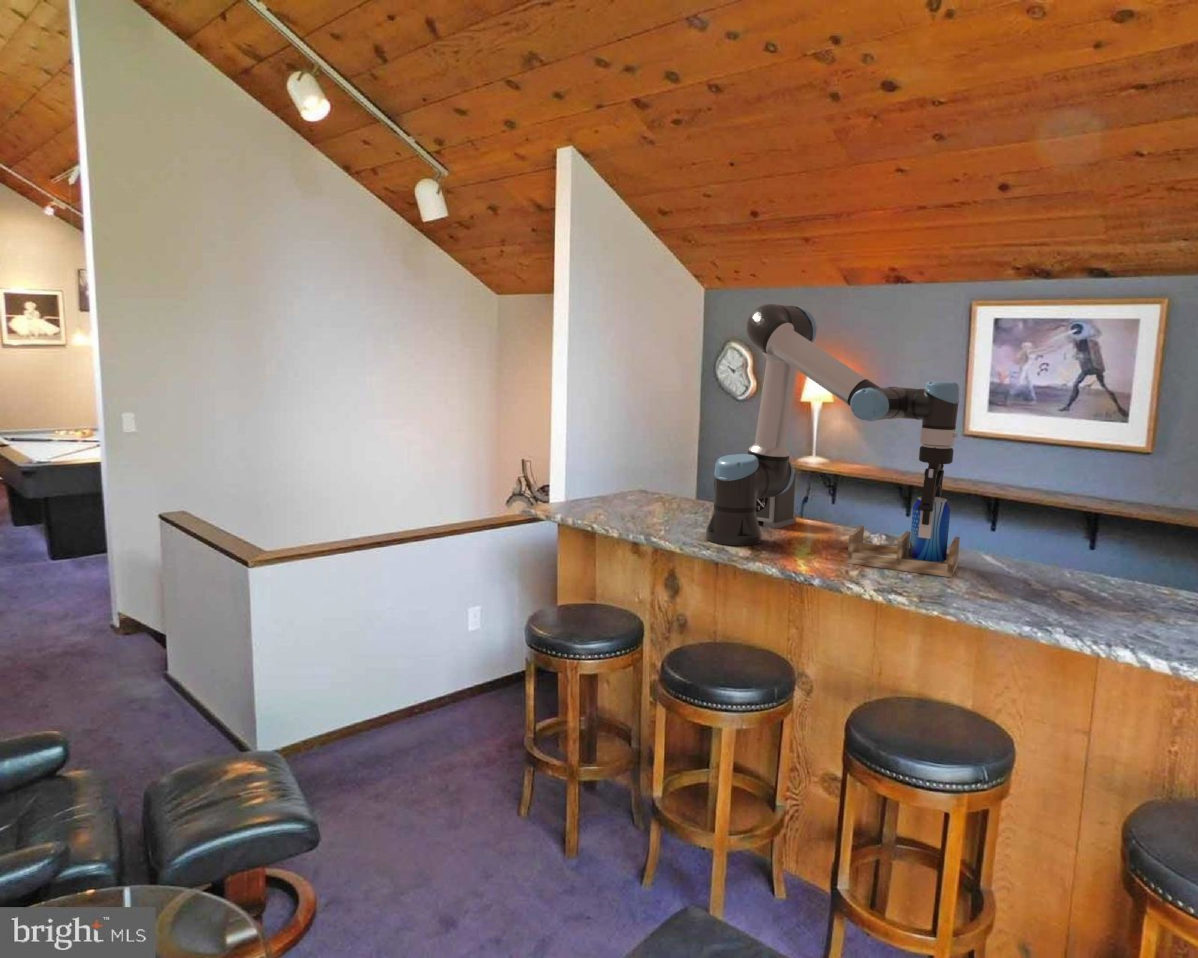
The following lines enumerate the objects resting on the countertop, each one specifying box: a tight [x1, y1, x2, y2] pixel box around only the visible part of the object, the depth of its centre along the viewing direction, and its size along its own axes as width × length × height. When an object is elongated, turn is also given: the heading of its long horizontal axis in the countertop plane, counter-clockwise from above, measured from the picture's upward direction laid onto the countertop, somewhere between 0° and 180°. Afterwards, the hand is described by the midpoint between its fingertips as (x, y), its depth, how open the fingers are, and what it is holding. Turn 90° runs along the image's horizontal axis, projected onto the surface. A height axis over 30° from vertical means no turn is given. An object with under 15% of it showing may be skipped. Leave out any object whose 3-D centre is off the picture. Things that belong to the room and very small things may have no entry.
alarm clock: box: [756, 468, 797, 529], centre depth 248 cm, size 18×13×18 cm
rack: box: [846, 525, 961, 578], centre depth 199 cm, size 24×13×7 cm, turn 61°
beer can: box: [909, 496, 951, 564], centre depth 195 cm, size 8×8×16 cm
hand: (928, 532), depth 196 cm, fingers open, 13 cm apart
